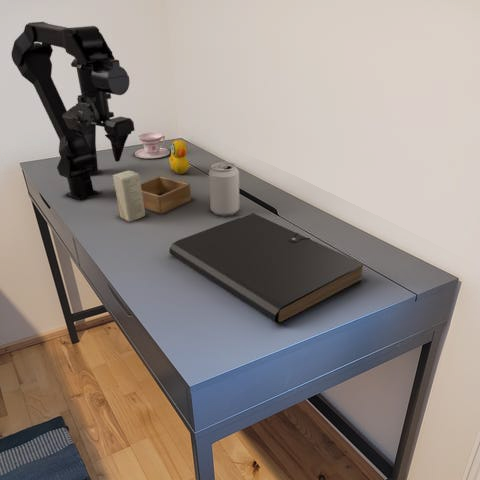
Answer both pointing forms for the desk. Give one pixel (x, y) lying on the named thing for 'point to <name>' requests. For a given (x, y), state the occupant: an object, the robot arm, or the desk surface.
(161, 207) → the crate
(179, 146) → the duckling
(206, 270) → the black book
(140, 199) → the box
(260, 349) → the desk surface
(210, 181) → the can
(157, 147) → the teacup
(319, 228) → the desk surface
